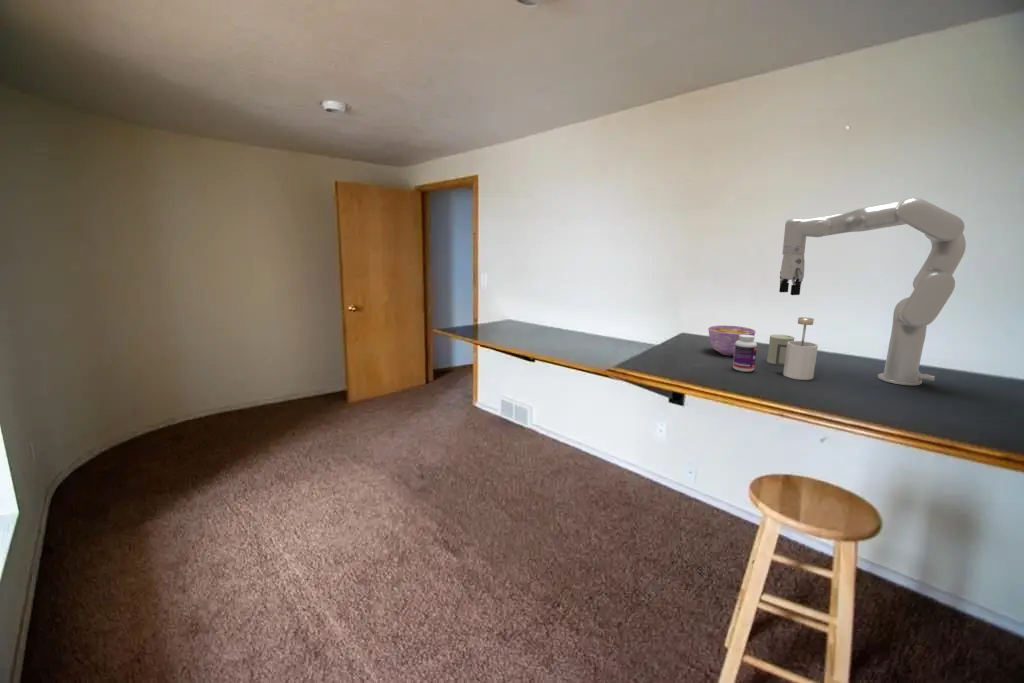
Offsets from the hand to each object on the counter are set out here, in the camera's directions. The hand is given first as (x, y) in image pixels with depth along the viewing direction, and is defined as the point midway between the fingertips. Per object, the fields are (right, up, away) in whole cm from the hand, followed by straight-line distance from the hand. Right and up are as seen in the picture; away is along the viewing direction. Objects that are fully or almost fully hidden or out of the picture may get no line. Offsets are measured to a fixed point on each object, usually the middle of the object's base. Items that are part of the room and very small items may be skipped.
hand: (789, 293), depth 182 cm
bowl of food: (-11, -25, +29) cm, 40 cm away
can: (+4, -29, +13) cm, 32 cm away
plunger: (0, -24, -8) cm, 26 cm away
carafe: (-2, -33, -5) cm, 33 cm away
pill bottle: (-17, -32, +3) cm, 36 cm away
